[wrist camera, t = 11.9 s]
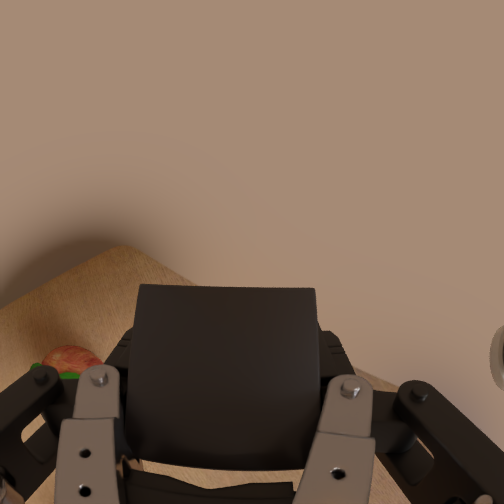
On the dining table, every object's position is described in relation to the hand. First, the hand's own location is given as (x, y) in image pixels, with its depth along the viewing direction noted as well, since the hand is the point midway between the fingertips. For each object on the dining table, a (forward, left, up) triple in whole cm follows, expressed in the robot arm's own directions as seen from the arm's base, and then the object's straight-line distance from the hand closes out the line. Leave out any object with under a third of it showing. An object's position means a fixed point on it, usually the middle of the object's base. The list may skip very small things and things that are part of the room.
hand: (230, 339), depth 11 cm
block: (0, +2, -5) cm, 5 cm away
